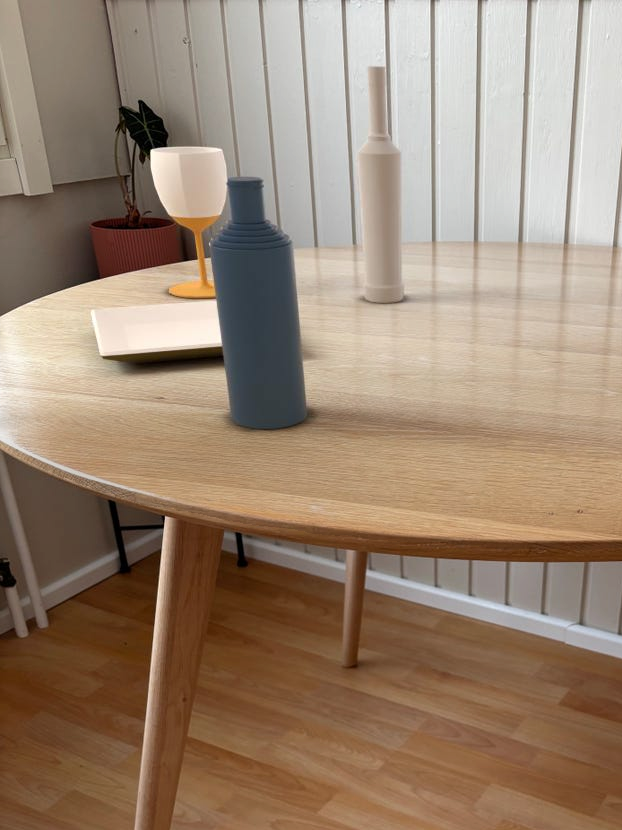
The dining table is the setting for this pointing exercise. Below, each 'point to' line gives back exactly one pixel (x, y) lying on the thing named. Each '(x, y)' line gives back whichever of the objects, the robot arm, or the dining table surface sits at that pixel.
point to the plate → (158, 332)
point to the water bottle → (258, 313)
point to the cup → (191, 199)
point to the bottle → (380, 200)
